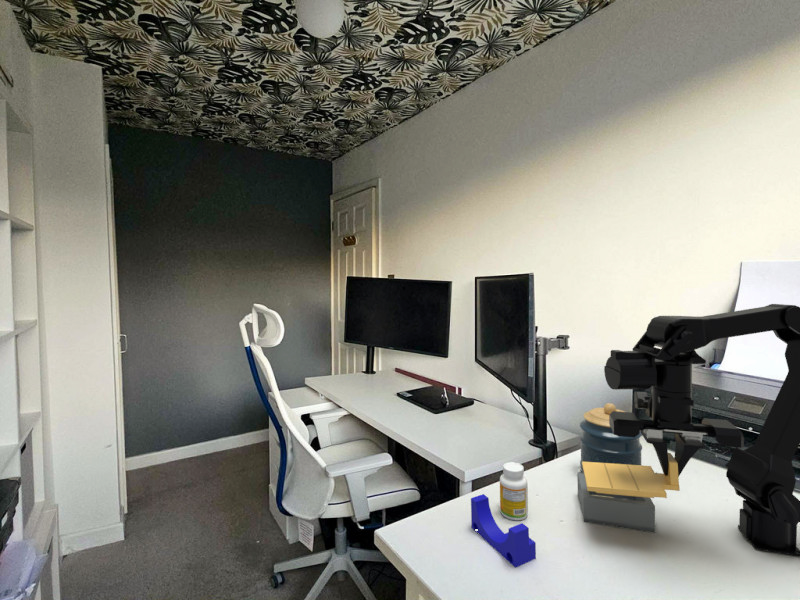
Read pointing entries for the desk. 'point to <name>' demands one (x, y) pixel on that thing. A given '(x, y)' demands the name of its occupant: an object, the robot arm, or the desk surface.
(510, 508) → the supplement bottle
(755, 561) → the desk surface
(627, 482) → the snap lid
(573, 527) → the desk surface
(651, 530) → the parts tub
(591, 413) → the canister
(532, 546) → the blue semicircular mounting bracket
